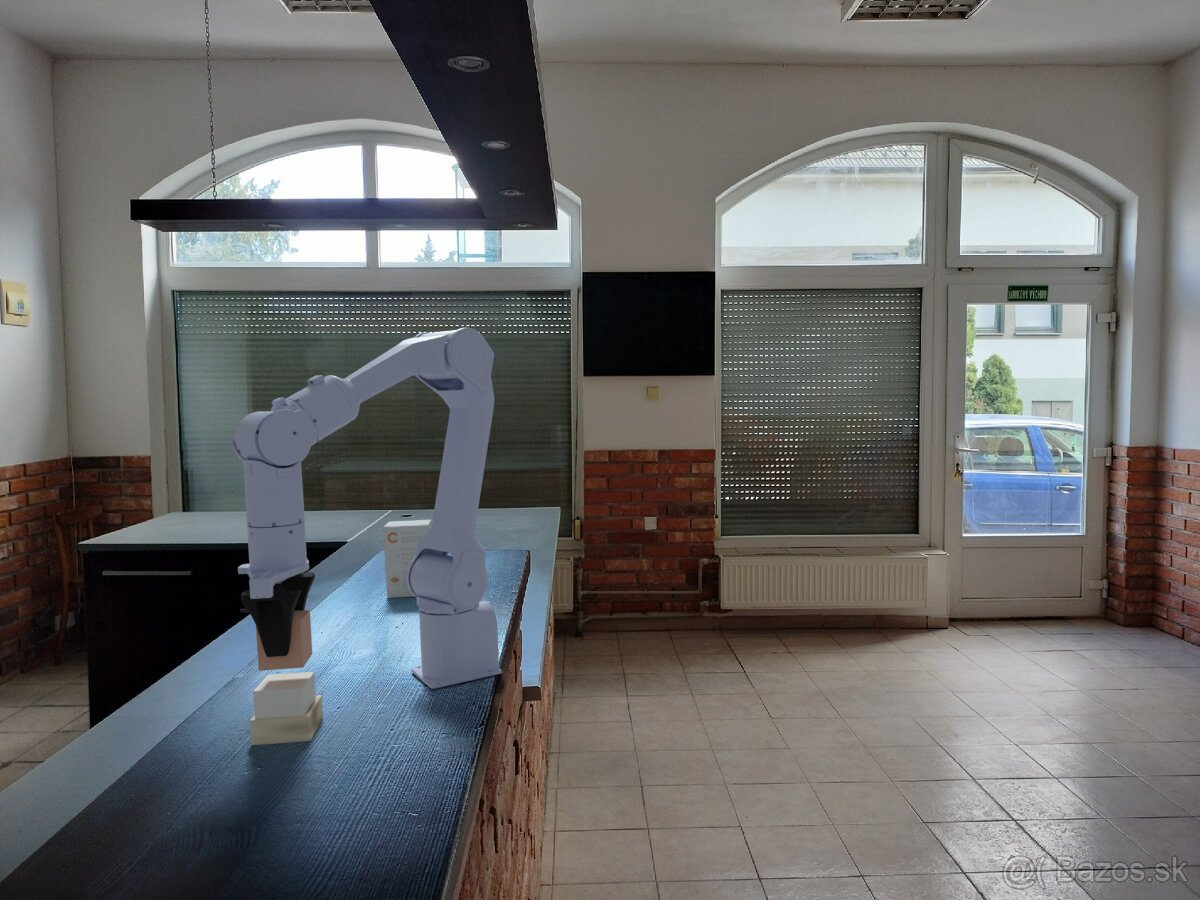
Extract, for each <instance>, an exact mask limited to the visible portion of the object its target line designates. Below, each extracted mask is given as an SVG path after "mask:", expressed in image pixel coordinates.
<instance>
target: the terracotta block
mask: <svg viewBox="0 0 1200 900" xmlns="http://www.w3.org/2000/svg"><path fill="white" fill-rule="evenodd" d="M255 634H256V646H257V647H256V650H257V651H256V652H257V665H258V671H259V672H261V671H262V672H263V671H274V670H286V669H287V670H288V669H302V668H304V667H305V665H306V664H307V662H308V661H309V660H310V658H311V657H312V656H313V643H312V642H313V641H312V640H313V639H312V622H311V609H307V610H306V609H304V610H301V611H294V614H293V620H292V630H291V642H290V648H289V652H288V654H287V656H277V657H267V656H266V654H265V651H264V649H263V646H262V642H261V639H260V636H259V633H258V630H257V627H256V626H255Z"/></svg>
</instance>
